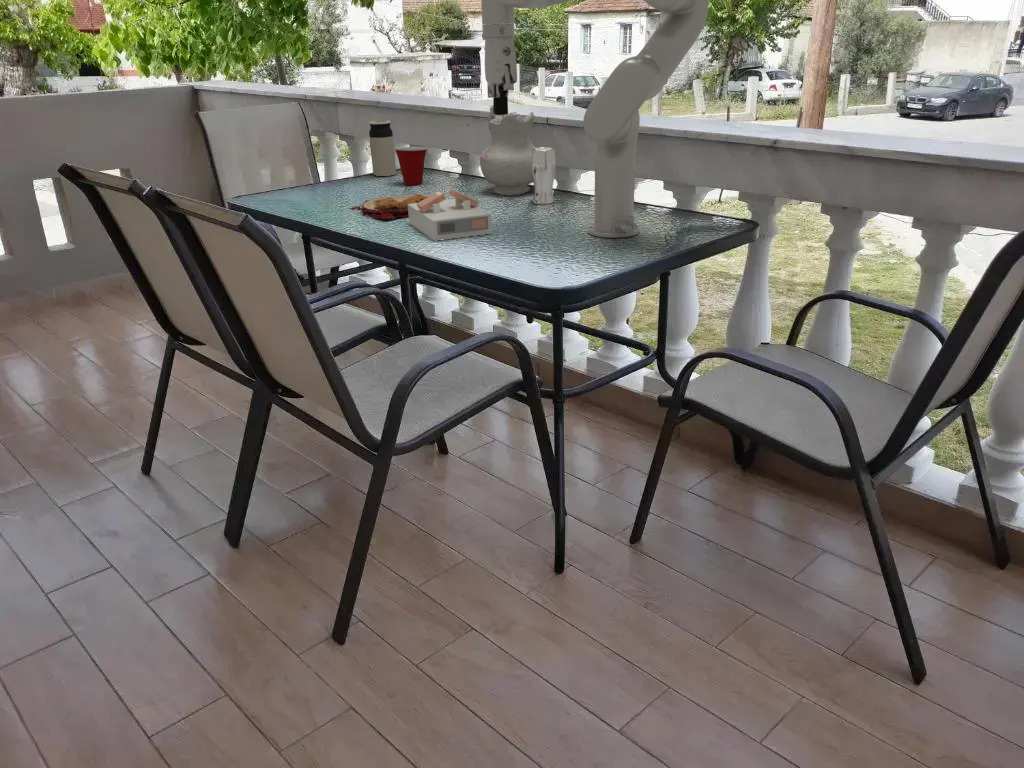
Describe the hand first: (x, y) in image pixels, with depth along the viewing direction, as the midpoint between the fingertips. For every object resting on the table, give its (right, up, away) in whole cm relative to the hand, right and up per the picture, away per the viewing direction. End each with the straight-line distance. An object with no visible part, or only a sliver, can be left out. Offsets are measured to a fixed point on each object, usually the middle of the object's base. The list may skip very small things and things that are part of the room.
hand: (500, 114), depth 195 cm
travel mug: (-42, +7, +83) cm, 94 cm away
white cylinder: (+12, -14, +34) cm, 39 cm away
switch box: (-13, -27, +8) cm, 31 cm away
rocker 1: (-17, -21, +4) cm, 28 cm away
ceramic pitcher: (+2, -7, +51) cm, 52 cm away
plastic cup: (-30, -1, +66) cm, 73 cm away
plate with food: (-29, -16, +33) cm, 47 cm away
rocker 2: (-10, -20, +7) cm, 23 cm away
